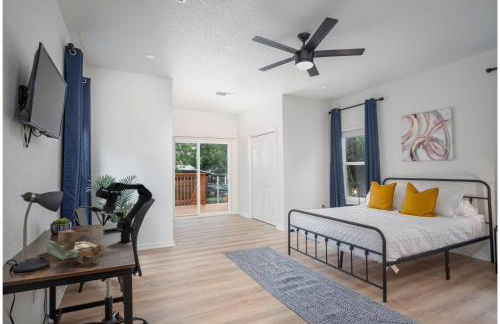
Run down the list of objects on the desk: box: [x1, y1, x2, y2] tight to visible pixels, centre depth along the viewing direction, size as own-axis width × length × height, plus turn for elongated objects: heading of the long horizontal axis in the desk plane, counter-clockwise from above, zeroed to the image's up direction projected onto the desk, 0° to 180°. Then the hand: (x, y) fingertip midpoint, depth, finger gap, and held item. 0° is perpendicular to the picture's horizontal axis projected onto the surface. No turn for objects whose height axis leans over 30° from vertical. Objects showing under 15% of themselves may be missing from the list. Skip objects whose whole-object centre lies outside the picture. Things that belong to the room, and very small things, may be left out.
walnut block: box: [57, 229, 76, 251], centre depth 165 cm, size 6×7×10 cm
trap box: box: [46, 239, 98, 261], centre depth 168 cm, size 20×22×6 cm
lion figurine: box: [72, 243, 106, 265], centre depth 150 cm, size 15×5×9 cm, turn 107°
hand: (103, 226), depth 179 cm, fingers closed
